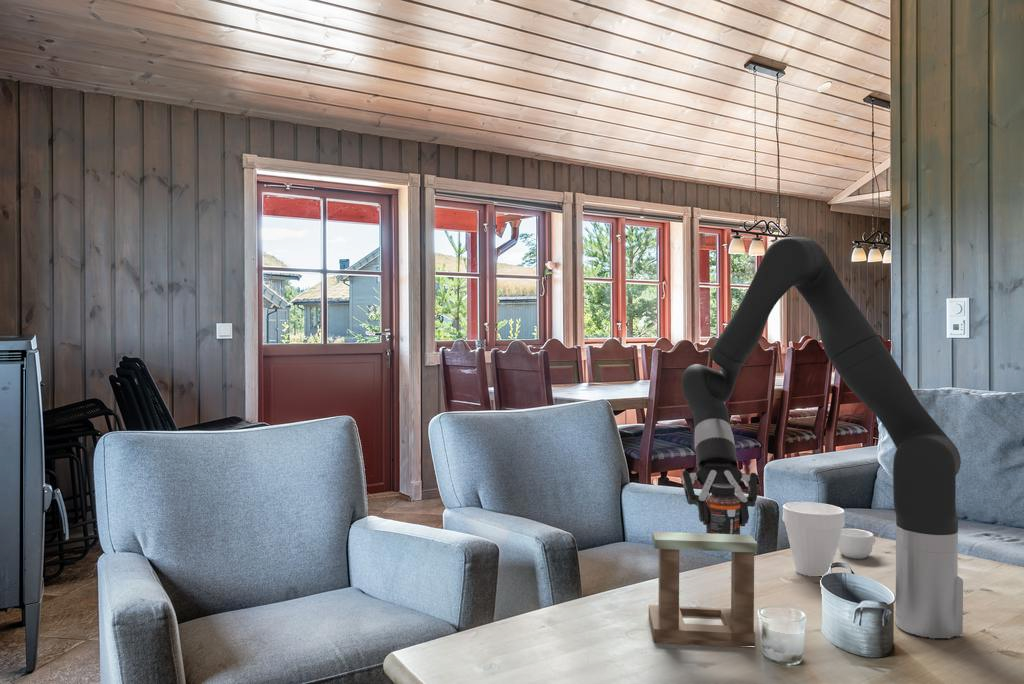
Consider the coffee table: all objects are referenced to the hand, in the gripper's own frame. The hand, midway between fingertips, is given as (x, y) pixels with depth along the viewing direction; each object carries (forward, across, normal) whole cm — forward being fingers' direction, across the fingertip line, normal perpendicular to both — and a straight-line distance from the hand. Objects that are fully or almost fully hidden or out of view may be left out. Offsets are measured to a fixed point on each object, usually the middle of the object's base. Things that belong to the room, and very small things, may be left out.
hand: (724, 523), depth 133 cm
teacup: (-17, +37, +41) cm, 57 cm away
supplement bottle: (+2, 0, +5) cm, 5 cm away
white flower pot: (-7, +23, +31) cm, 39 cm away
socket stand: (+18, -6, +4) cm, 20 cm away
